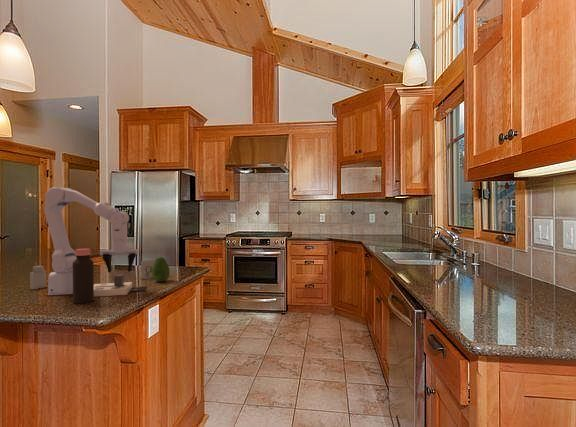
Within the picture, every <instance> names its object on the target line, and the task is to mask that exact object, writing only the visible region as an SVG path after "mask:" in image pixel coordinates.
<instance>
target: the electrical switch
mask: <svg viewBox="0 0 576 427" xmlns="http://www.w3.org/2000/svg"><path fill="white" fill-rule="evenodd" d="M155 260H156V259H147V260H145V259H144V260H141V261H140V269H141V270H140V274H141V276H140V279H141V280H150V279H154V278H153V276H152V268H153V265H154V262H155Z"/></svg>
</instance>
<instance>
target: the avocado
mask: <svg viewBox="0 0 576 427" xmlns="http://www.w3.org/2000/svg"><path fill="white" fill-rule="evenodd" d="M154 260H155V262H154V265H153V268H152V276H153V278H152V279H154V280H155V281H156V282H158V283H159V282H160V283H163V282H166V281H167V280H168V279H169V277H170V274H171V273H170V267H169V265H168V264H169V263H168V262H167V260H166V259H165V258H164V256H163V257H162V256H159V257H157V258H155V259H154Z"/></svg>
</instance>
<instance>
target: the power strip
mask: <svg viewBox="0 0 576 427" xmlns="http://www.w3.org/2000/svg"><path fill="white" fill-rule="evenodd" d="M147 289H148V285H144V286H133V282H132V281H124V284H123V285H122V286H114V282H112V283H111V282H109V283H94V298H95V297H109V296H111V297H112V296H124V295H128V294H129V292H130V293H137V292H139V291H141V292H146V291H147Z"/></svg>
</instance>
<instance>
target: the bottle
mask: <svg viewBox="0 0 576 427" xmlns="http://www.w3.org/2000/svg"><path fill="white" fill-rule="evenodd" d="M91 252H92V250H91V248H87V247H86V248H76V249H75V255H76V258H77V259H76V260H75V261H74V262H73V294H72V303H73V304H74V305H75V304H76V305H82V304H88V303H91V302H94V300H95V297H94V284H95V283H94V282H95V281H94V280H95V279H94V272H95V271H94V261H93V260H92V258H91Z"/></svg>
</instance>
